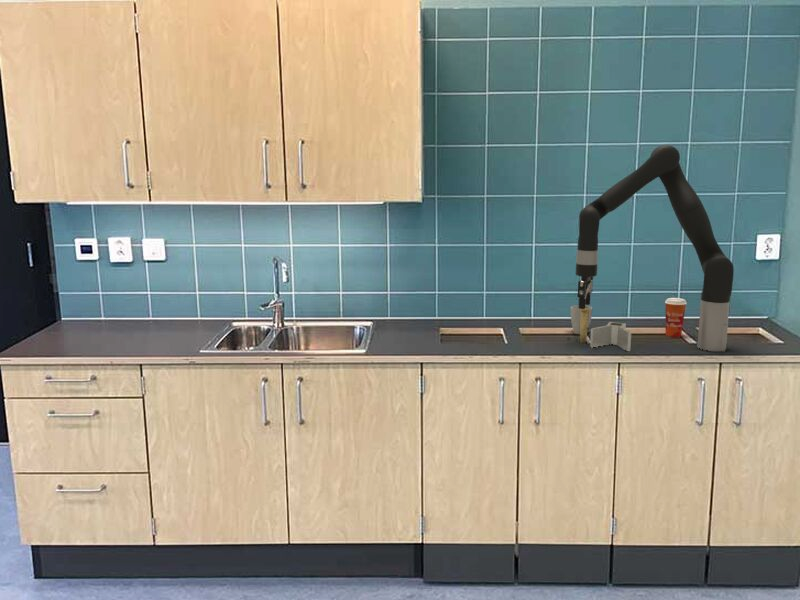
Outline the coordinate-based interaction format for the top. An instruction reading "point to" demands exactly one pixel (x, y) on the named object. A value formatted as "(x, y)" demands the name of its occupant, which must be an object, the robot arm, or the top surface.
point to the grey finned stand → (611, 336)
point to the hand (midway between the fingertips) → (584, 306)
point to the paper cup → (674, 316)
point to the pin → (584, 324)
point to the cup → (579, 318)
